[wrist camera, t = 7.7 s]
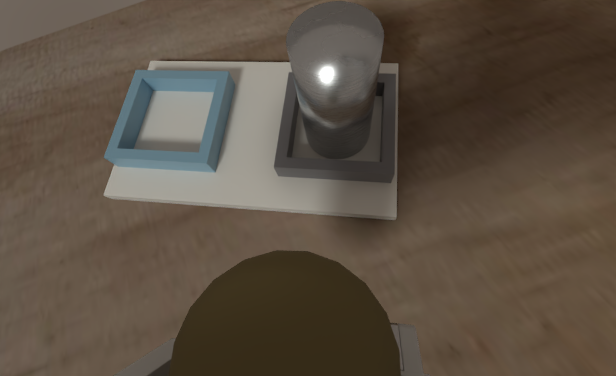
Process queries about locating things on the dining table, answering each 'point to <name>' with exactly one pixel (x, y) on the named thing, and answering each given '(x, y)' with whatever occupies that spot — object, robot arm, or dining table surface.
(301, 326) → the cork
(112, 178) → the pallet board
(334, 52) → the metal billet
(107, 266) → the dining table surface
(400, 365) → the robot arm
